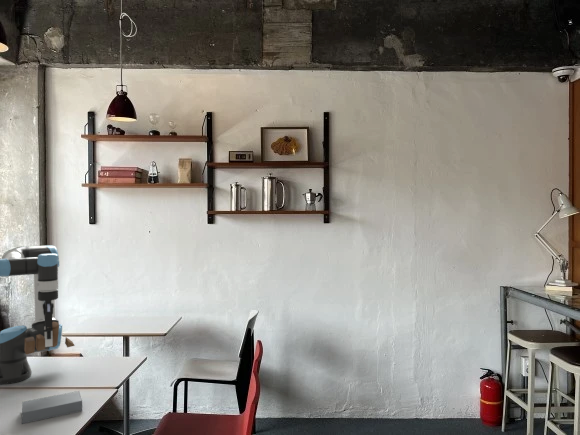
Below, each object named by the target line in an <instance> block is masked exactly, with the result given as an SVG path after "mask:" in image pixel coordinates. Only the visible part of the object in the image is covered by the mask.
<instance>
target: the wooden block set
mask: <svg viewBox="0 0 580 435" xmlns="http://www.w3.org/2000/svg"><path fill="white" fill-rule="evenodd" d="M59 324H60V322H59V323H57V322H52V328H53V330H52V333H53V346H50V347H55V346H57V344H58V333H59ZM49 328H51V327H49ZM64 345H65V346H66V348H70V347H75V344H74V342H73V340H71V339H69V338H68V337H67V336H65V341H64ZM45 348H46V347H45V337H44V336H42V335H40V334H39V335H36V349H37V351H40V350H44V349H45ZM34 350H35V340H34V337H29V338H25V347H24V351H25V353H26V354H27V355H30V354H34Z"/></svg>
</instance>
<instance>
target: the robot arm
mask: <svg viewBox="0 0 580 435" xmlns="http://www.w3.org/2000/svg"><path fill="white" fill-rule="evenodd" d="M59 266H60V260H59V252H58V248H57V247H56V246H55V245H47V244H46V245H45V244H44V245H26V246H25V245H24V246H18V247H15V248H14V247H13V248H11V249H8V250H7V251H5V252H4V253H3V254H2V256H1V258H0V277H5V278H6V277H7V278H8V277H14V276H15V277H16V276H30V275H32V276H33V284H34V285H33V286H34V287H33V288H34V321H33V322H32V323H31V327H29V328H28V327H27V326H26V325H25V324H24V325H23V324H22V325H16V326H10V327H7V328H5V329H3V330H1V331H0V385H7V384H8V385H9V384H15V383H19V382H21V381H24V380H27V379H29V378H30V377H31V376H32V369H31V366H30V364H29V361H28V354H26V353H25V351H24V347H25V338H29V337H34V340H35V350H34V353H42V352H47V351H48V352H50V351H53V350H57V349H59V348H60V346H61V342H62V336H63V324H62V323H60V322H59V320H58V319H57V318H56V311H55V310H56V308H55V300H57V299H58V298H59V290H58V289H59V277H58V275H59V274H58V273H59ZM52 322H57V323H59V333H58V344H57V346H55V347H50V346H53V333H52V330H53V328H52ZM49 327H51V328H49ZM39 334H40V335H42V336H44V337H45V347H46V348H45V349H44V350H40V351H37V349H36V335H39ZM34 353H33V354H34Z"/></svg>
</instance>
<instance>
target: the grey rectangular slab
mask: <svg viewBox="0 0 580 435" xmlns="http://www.w3.org/2000/svg"><path fill="white" fill-rule="evenodd" d="M21 404H22V405H21V407H22V408H21V424H28V423H32V421H33V422H36V421H41V420H45V419H51V418H55V417H59V416H65V415H68V414H69V415H70V414H73V413H74V414H75V413H78V412H83V398H82V395H81V391H80V390H77V391H76V390H75V391H71V392H66V393H61V394H57V395H56V394H54V395H51V396H46V397H40V398H35V399H30V400H25V401H22V403H21Z"/></svg>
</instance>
